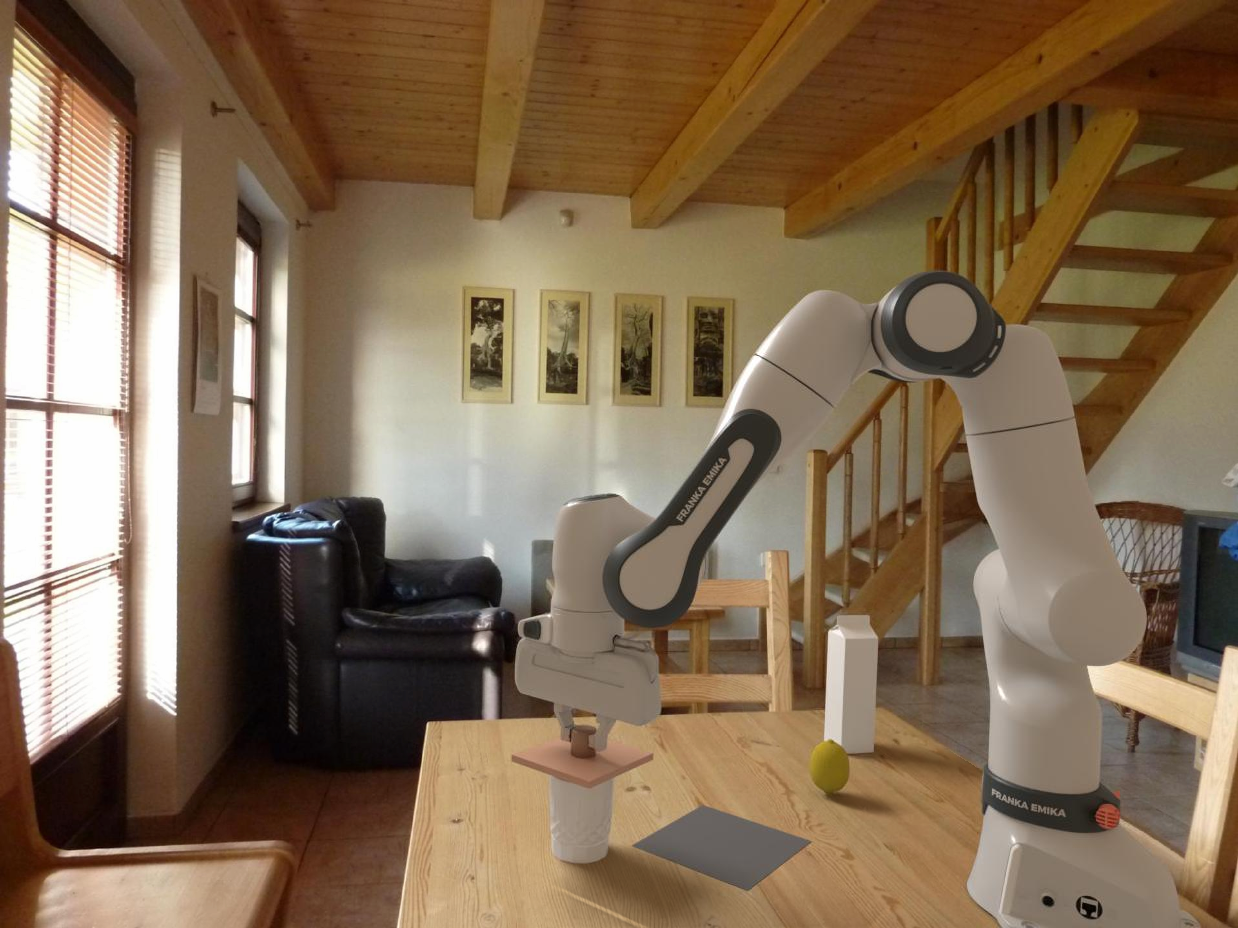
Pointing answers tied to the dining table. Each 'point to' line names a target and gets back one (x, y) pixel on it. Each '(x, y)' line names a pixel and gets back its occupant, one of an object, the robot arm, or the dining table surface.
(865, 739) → the milk
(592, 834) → the white cup
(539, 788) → the dining table surface
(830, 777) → the lemon
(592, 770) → the lid
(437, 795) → the dining table surface
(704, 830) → the mat
